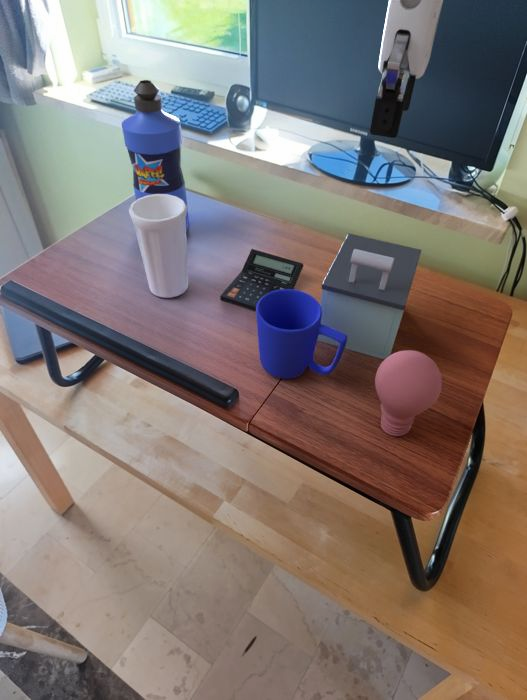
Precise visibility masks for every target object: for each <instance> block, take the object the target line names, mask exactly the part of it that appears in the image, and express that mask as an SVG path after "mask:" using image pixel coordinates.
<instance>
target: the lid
mask: <svg viewBox="0 0 527 700" xmlns="http://www.w3.org/2000/svg"><path fill="white" fill-rule="evenodd" d="M421 254H422V249H420V248H417V247H416V248H415V247H410V246H408V245H407V246H406V245H402V244H397V243H394V242H388V241H386V240H385V241H384V240H381V239H376V238H371V237H367V236H363V235H359V234H354V233H349V232H347V235H346V237H345V238H344V241H343V242H342V244H341V247H340V249H339V251H338V252H337V254H336V256H335V258H334V260H333V262H332V264H331V266H330V267H329V269H328V272H327V273H326V275H325V278H324V279H323V281H322V283H321V288H320V289H321V290H322V289H323V290H327V291H331V292H335V293H339V294H343V295H346V296H350V297H354V298H358V299H362V300H366V301H370V302H374V303H377V304H381V305H385V306H389V307H393V308H397V309H401V310H404V311H405V310H406V307H407V306H406V305H407V301H408V300H409V299H408V298H409V295H410V291H411V288H412V285H413V281H414V279H415V274H416V271H417V267H418V264H419V261H420V258H421Z"/></svg>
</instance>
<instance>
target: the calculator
mask: <svg viewBox="0 0 527 700" xmlns="http://www.w3.org/2000/svg"><path fill="white" fill-rule="evenodd" d="M303 268H304V263H303V262H299V261H297V260H293V259H289V258H286V257H281V256H278V255H275V254H272V253H268V252H264V251H261V250H257V249H253V248H251V249H250V251H249V254H248V256H247V258H246V260H245V262H244V265H243V267H242V269H241V271H240V272H239V274H237V276H236V277H235V278H234V279H233V280H232V281H231V283H230V284H229V285H228V286H227V287H226V288H225V290H224V291H223V292H222V293H221V294H220V296H219V297H220V298H219V299H220V301H223V302H225V303H229V304H231V305H233V306H238V307H241V308H244V309H247V310H250V311H253V312H256V306H257V304H258V302H259V300H260V299H261V298H262V297H263V296H264V295H266V294H268V293H270V292H272V291H276V290H281V289H292V290H295V287H296V284H297V282H298V280H299V277H300V275H301V273H302V270H303Z"/></svg>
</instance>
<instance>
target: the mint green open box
mask: <svg viewBox="0 0 527 700" xmlns="http://www.w3.org/2000/svg"><path fill="white" fill-rule="evenodd" d="M319 304H320V306H321V309H322V317H321V324H322V325H326V326H329V327H331V328H333V329H336V330H338V331H340V332H342V333H344V334H346V335H347V337H348V338H347V342H346V346H345V349H346V350H347V351H353V352H356V353H358V354H363V355H366V356H370V357H373V358H377V359H381V360H383V361H384V360H385V359H386V358H387V357H388V356H390V355H392V351H393V347H394V344H395V341H396V337H397V335H398V331H399V328H400V324H401V321H402V318H403V315H404V311H405V309H404V310H401V309H397V308H393V307H389V306H385V305H381V304H377V303H374V302H370V301H366V300H362V299H358V298H354V297H350V296H346V295H343V294H339V293H335V292H331V291H327V290H323V289H321V295H320V303H319ZM317 342H321V343H324V344H327V345H328V344H329V345H332V346H335V347H337V348H338V347H339V342H338V341H336V340H334V339H332V338H330V337H327V336H325V335H319V336H318V339H317ZM345 349H344V350H345Z"/></svg>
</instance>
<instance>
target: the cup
mask: <svg viewBox="0 0 527 700" xmlns="http://www.w3.org/2000/svg"><path fill="white" fill-rule="evenodd" d="M187 209H188V205H187V206H186V205H185V203H184V201H183V200H181V199H180V198H178V197H176V196H172V195H168V194H154V195H147V196H144V197H142V198H139V199H137V200H136V199H135V200H134V201H133V202H132V203H131V204H130V206H129V208H128V212H129V216H130V218H131V221H132V223H133V227H134V231H135V235H136V239H137V243H138V246H139V250H140V255H141V260H142V263H143V267H144V272H145V276H146V279H147V283H148V287H149V290H150V292H151V293H152V294H153V295H154V296H156V297H160V298H167V299H170V298H174V297H178V296H181V295H182V294H184V293H185V292H186V291H187V290H188V288H189V265H188V264H189V263H188V244H187V243H188V241H187V232H186V219H185V218H186V212H187Z"/></svg>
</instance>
